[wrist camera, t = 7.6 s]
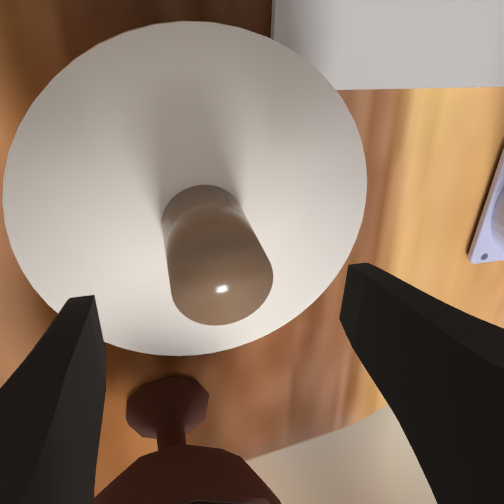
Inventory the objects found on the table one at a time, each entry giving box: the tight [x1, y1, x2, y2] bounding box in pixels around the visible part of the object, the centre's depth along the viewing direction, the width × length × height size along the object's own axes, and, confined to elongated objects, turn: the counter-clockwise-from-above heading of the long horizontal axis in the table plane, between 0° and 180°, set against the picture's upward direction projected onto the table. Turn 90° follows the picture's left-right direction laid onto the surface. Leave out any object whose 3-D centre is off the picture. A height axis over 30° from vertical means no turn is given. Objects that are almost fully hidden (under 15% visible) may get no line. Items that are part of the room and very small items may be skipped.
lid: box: [2, 21, 367, 356], centre depth 14 cm, size 13×13×5 cm
